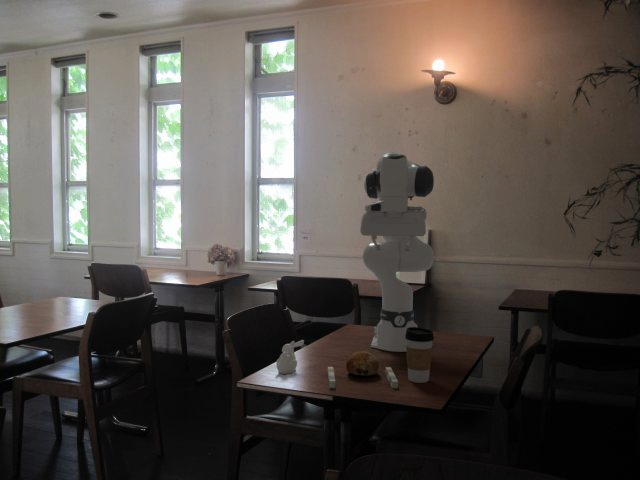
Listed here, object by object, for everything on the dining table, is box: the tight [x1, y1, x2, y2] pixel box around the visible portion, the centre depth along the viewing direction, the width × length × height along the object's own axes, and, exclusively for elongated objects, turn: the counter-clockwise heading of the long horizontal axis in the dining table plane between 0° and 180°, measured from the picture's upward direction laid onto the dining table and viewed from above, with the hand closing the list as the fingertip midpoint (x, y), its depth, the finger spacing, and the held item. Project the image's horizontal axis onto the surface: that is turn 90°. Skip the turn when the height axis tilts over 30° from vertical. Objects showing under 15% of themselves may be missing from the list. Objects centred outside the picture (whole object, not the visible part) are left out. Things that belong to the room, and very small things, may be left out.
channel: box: [327, 366, 399, 389], centre depth 168 cm, size 14×19×2 cm
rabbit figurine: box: [276, 339, 305, 375], centre depth 177 cm, size 12×8×10 cm, turn 167°
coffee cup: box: [405, 326, 435, 384], centre depth 169 cm, size 8×8×15 cm
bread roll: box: [345, 350, 380, 377], centre depth 175 cm, size 10×10×8 cm
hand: (392, 250), depth 180 cm, fingers open, 8 cm apart
